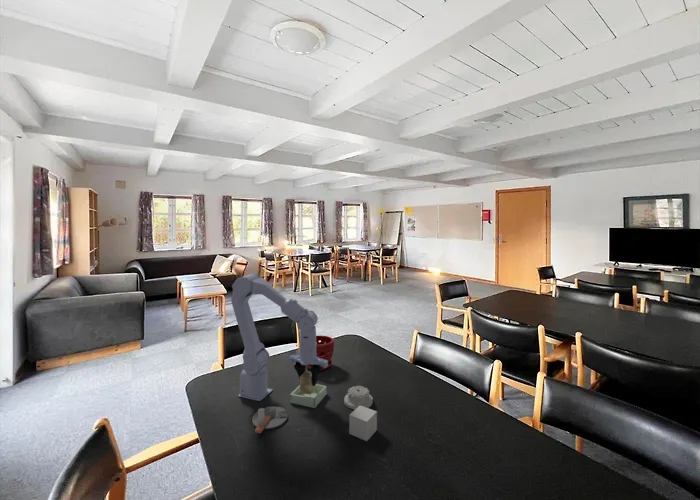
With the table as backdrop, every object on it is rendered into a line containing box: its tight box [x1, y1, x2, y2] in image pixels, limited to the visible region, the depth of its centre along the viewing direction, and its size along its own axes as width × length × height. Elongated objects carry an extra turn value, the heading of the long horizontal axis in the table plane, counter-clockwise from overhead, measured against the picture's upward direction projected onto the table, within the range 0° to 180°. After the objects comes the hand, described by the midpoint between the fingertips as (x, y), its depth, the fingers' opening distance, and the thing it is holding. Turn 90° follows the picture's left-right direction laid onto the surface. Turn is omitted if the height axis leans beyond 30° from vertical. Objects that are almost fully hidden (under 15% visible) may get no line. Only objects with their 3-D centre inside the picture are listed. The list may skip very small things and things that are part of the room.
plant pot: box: [306, 335, 335, 371], centre depth 140 cm, size 13×13×12 cm
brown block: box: [299, 370, 316, 395], centre depth 113 cm, size 4×4×6 cm
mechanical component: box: [343, 385, 374, 411], centre depth 111 cm, size 10×4×10 cm
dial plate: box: [251, 406, 289, 431], centre depth 102 cm, size 11×11×1 cm
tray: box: [289, 383, 328, 409], centre depth 114 cm, size 10×10×3 cm
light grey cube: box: [348, 406, 378, 442], centre depth 95 cm, size 6×6×6 cm
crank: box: [254, 406, 276, 434], centre depth 98 cm, size 11×4×6 cm, turn 172°
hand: (308, 383), depth 113 cm, fingers closed on brown block, 4 cm apart
